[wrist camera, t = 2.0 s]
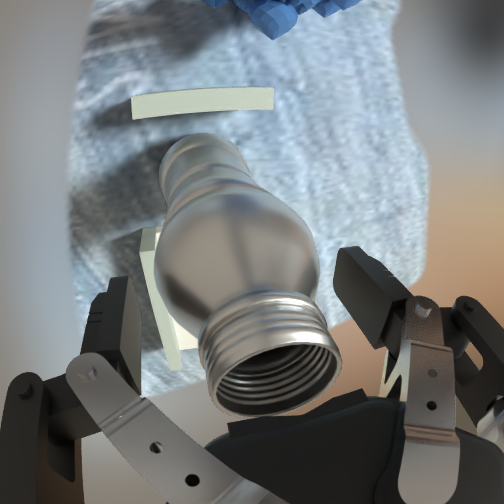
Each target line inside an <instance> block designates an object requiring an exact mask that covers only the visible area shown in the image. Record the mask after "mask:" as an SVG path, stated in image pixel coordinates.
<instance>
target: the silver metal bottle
mask: <svg viewBox="0 0 504 504" xmlns="http://www.w3.org/2000/svg"><path fill="white" fill-rule="evenodd" d="M159 183H160V187H161V190H162V193H163V196H164V199H165V200H166V203H167V213H166V219H165V222H164V225H163V227H162V230H161V233H160V236H159V239H158V243H157V246H156V252H155V258H154V278H155V283H156V287H157V290H158V292H159V294H160V296H161V298H162V300H163V302H164V304H165V306H166V308H167V310H168V312H169V314H170V315H171V316H172V317H173V318H174V320H175V321H176V322H177V323H178V324H179V325H180V326H182V327H183V328H184V329H185V330H186V331H188V332H189V333H190V334H191V335H193V336H194V337H195V338H196V339H198V343H197V344H198V351H199V357H200V362H201V364H202V366H203V368H204V370H205V372H206V378H207V384H208V390H209V394H210V396H211V398H212V402H213V403H214V405H215V406H216V407H217V408H218V409H219V410H221V411H222V412H224V413H226V414H228V415H231V416H235V417H238V418H247V419H252V418H257V417H261V416H279V415H283V414H286V413H289V412H292V411H294V410H297V409H299V408H301V407H304V406H305V405H307V404H309V403H311V402H313V401H314V400H315V399H317V398H318V397H320V396H321V395H322V394H324V393H325V392H326V391H327V390H328V389H329V388H330V387H331V386H332V385H333V383H334V382H335V381H336V379H337V378H338V376H339V374H340V371H341V369H342V359H341V355H340V352H339V349H338V347H337V345H336V344H335V342H334V340H333V338H332V337H331V335H330V333H329V331H328V330H327V323H326V320H325V318H324V316H323V314H322V312H321V311H320V309H319V308H318V306H317V305H316V304H315V302H314V300H315V297H316V292H317V288H318V283H319V277H320V261H319V256H318V252H317V248H316V245H315V241H314V238H313V235H312V233H311V231H310V229H309V228H308V226H307V224H306V223H305V221H304V220H303V219H302V218H301V217H300V216H299V215H298V214H297V213H296V212H295V211H294V210H293V209H291V208H290V207H289V206H288V205H287V204H286V203H285V202H283V201H282V200H280V199H278V198H277V197H275V196H274V195H272V194H271V193H269V192H268V191H266V190H265V189H263V188H261V187H260V186H259V185H258V184H257V183H256V182H255V181H254V180H253V179H252V177H251V175H250V171H249V167H248V165H247V162H246V160H245V158H244V156H243V154H242V153H241V151H240V150H239V148H238V147H237V146H235V145H234V144H233V143H232V142H231V141H229V140H227V139H226V138H224V137H221V136H218V135H216V134H209V133H196V134H192V135H188V136H186V137H184V138H182V139H180V140H179V141H177V142H176V143H175V144H173V145H172V146H171V147H170V149H169V150H168V151H167V152H166V154H165V155H164V157H163V159H162V162H161V165H160V168H159Z"/></svg>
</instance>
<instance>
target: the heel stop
mask: <svg viewBox="0 0 504 504" xmlns="http://www.w3.org/2000/svg"><path fill="white" fill-rule="evenodd" d="M273 101H274V88H271V87H255V86H252V87H213V88H197V89H184V90H173V91H164V92H155V93H147V94H140V95H136V96H132V97H131V105H132V119H133V120H135V119H142V118H149V117H157V116H165V115H174V114H184V113H196V112H209V111H227V110H266V109H273Z"/></svg>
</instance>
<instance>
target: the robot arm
mask: <svg viewBox="0 0 504 504" xmlns="http://www.w3.org/2000/svg"><path fill="white" fill-rule="evenodd" d="M333 287H334V291H335V293H336V295H337V297H338V298H339V299H340V301H341V302H342V304H343V305H344V306H345V308H346V309H347V311H348V312H349V313H350V315H351V316H352V318H353V319H354V320H355V322H356V323H357V325H358V326H359V328H360V329H361V331H362V332H363V333H364V335H365V336H366V338H367V339H368V341H369V342H370V344H371V345H372V346H373V348H374V349H378V348H381V347H384V346H386V347H387V349H388V350H387V352H386V355H385V361H384V368H383V375H382V381H381V387H380V392H379V395H378V397H377V396H368V397H367V396H366V394H365V393H364V391H363V389H358V390H355V391H353V392H350V393H347V394H343V395H341V396H337V397H334V398H332V399H330V400H328V401H327V402H325V403H323V404H322V405H320V406H318V407H316V408H315V409H313V410H311V411H309V412H308V413H306V414H303V415H297V416H261V417H257V418H252V419H247V420H241V421H236V422H231V423H227V425H228V431H229V432H228V433H226V434H223V435H221V436H220V437H217V438H216V439H214V440H213V441H211V442H210V443H208V444H207V445H206V446H205V447H204V448H203V447H202V446H200V445H199V444H198V443H197V442H196V441H194V440H193V439H192V438H191V437H190V436H188V435H187V434H186V433H185V432H184V431H183V430H181V429H180V428H179V427H178V426H177V425H176V424H175V423H174V422H172V421H171V420H170V419H169V418H168V417H167V416H166V415H165V414H164V413H162V411H160V410H159V409H158V408H157V407H156V406H155V405H154V404H153V403H152V402H151V401H150V400H148V399H147V398H145V397H144V398H143V399H142V398H141V397H140V395H141V343H142V316H141V310H140V306H139V303H138V299H137V296H136V292H135V288H134V285H133V281H132V278H131V276H130V275H129V276H121V277H113V278H110V281H109V286H108V290H107V292H103V293H99V294H98V295H97V296H96V298H95V299H94V300H93V302H92V303H91V307H90V311H89V315H88V320H87V324H86V328H85V333H84V337H83V342H82V347H81V352H80V355H79V356H77V357H76V358H74V359H73V360H72V361H71V362H70V363H69V365H68V367H67V369H66V373H65V374H63V375H61V376H58V377H55V378H52V379H48V380H45V381H42V379H41V378H40V377H39V376H38V375H37V374H35V373H32V372H26V373H22V374H20V375H18V376H17V377H15V378H14V379H13V380H12V382H11V383H10V386H9V387H8V391H7V396H6V400H5V405H4V410H3V416H2V422H1V429H0V504H85V503H84V492H83V479H82V456H81V438H83V437H86V436H89V435H92V434H95V433H98V432H101V431H102V432H103V433H104V434H105V436H106V437H107V438H108V439H109V441H110V442H111V443H112V444H113V445H114V446H115V448H116V449H117V450H118V451H119V452H120V454H121V455H122V456H123V457H124V458H125V459H126V460H127V462H128V463H130V465H131V466H132V467H133V468H134V469H135V470H136V471H137V472H138V473H139V474H140V475H141V476H142V477H143V479H145V481H146V482H147V483H149V485H150V486H151V487H152V488H154V490H156V492H157V493H159V494H160V495H161V496H162V497H163V498H164V499H165V500H166V501H167V502H166V504H504V329H503V328H502V327H501V325H500V324H499V323H498V322H497V321H496V320H495V319H494V318H493V316H491V314H490V313H489V312H488V311H487V310H486V309H485V308H484V307H483V306H482V305H481V304H480V303H479V302H478V301H477V300H475V299H474V298H471V297H468V296H460V297H458V298H457V299H456V301H455V303H454V306H453V307H439V306H438V305H437V304H436V302H434V301H433V300H432V299H429V298H427V297H424V296H413V295H412V294H411V293H410V292H409V291H408V290H407V289H406V287H405V286H404V285H403V284H402V283H401V282H400V281H399V280H398V279H397V278H396V277H394V275H393V274H392V273H391V272H390V271H388V269H387V268H386V267H385V266H384V265H383V264H382V263H381V262H380V261H378V260H376V259H374V258H373V257H371V256H368V255H367V254H366V253H365V252H364V251H363V250H362V249H361V248H360V247H359V246H352V247H345V248H340V249H339V251H338V254H337V260H336V266H335V272H334V278H333ZM470 341H471V342H472V344H473V345H474V346H475V348H476V349H477V350H478V351H479V353H480V354H481V355H482V357H483V367H482V369H481V370H480V371H479V370H478V368H477V367H476V365H475V364H474V363H473V361H472V360H471V359H470V357H469V356H468V355H467V353H466V352H465V349H466V347H467V346H468V344H469V342H470ZM455 394H456V396H457V397H458V399H459V400H460V402H461V404H462V405H463V407H464V408H465V410H466V411H467V413H468V415H469V416H470V418H471V420H472V421H473V423H474V425H475V426H476V428H477V433H478V435H474V434H472V433H469V432H466V431H464V430H462V429H459V428H457V427H455Z"/></svg>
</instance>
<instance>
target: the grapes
mask: <svg viewBox="0 0 504 504" xmlns="http://www.w3.org/2000/svg"><path fill="white" fill-rule="evenodd" d="M203 1H204V2H206V3H208V4H209V5H211V6H212V7H214V8H217V7H219V6H221V5H223V4H225V3H227V2H228V1H230V0H203ZM232 1H233V2H234V3H235V4H236V5H237V7H239V8H240V9H242V10H243V11H244V12H246V13H247V14H249V18H250V20H251V21H252V23H253V24H254V25H255V27H256V28H257V29H258V30H260V31H261V32H262V33H264V34H265V35H266V36H268V37H269V38H270V39H272V40H274V39H276V38H278V37H279V36H281V35H283V34H284V33H286V32H288V31H289V30H290V29H291V28H292V27H294V26H295V24H296V22H297V18H298V14H299V15H300V14H302V13H304V12H305V11H307V10H308V9H311V8H313V9H314V10H315V11H316V12H317V13H318V14H320V15H321V16H323V17H324V18H325V17H327V16H329V15H331V14H333V13H335V12H337V11H338V10H339V9H342V10H345V9H347V8H349V7H351V6H353V5H356V4H357V3H358V2H360V1H361V0H232Z"/></svg>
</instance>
